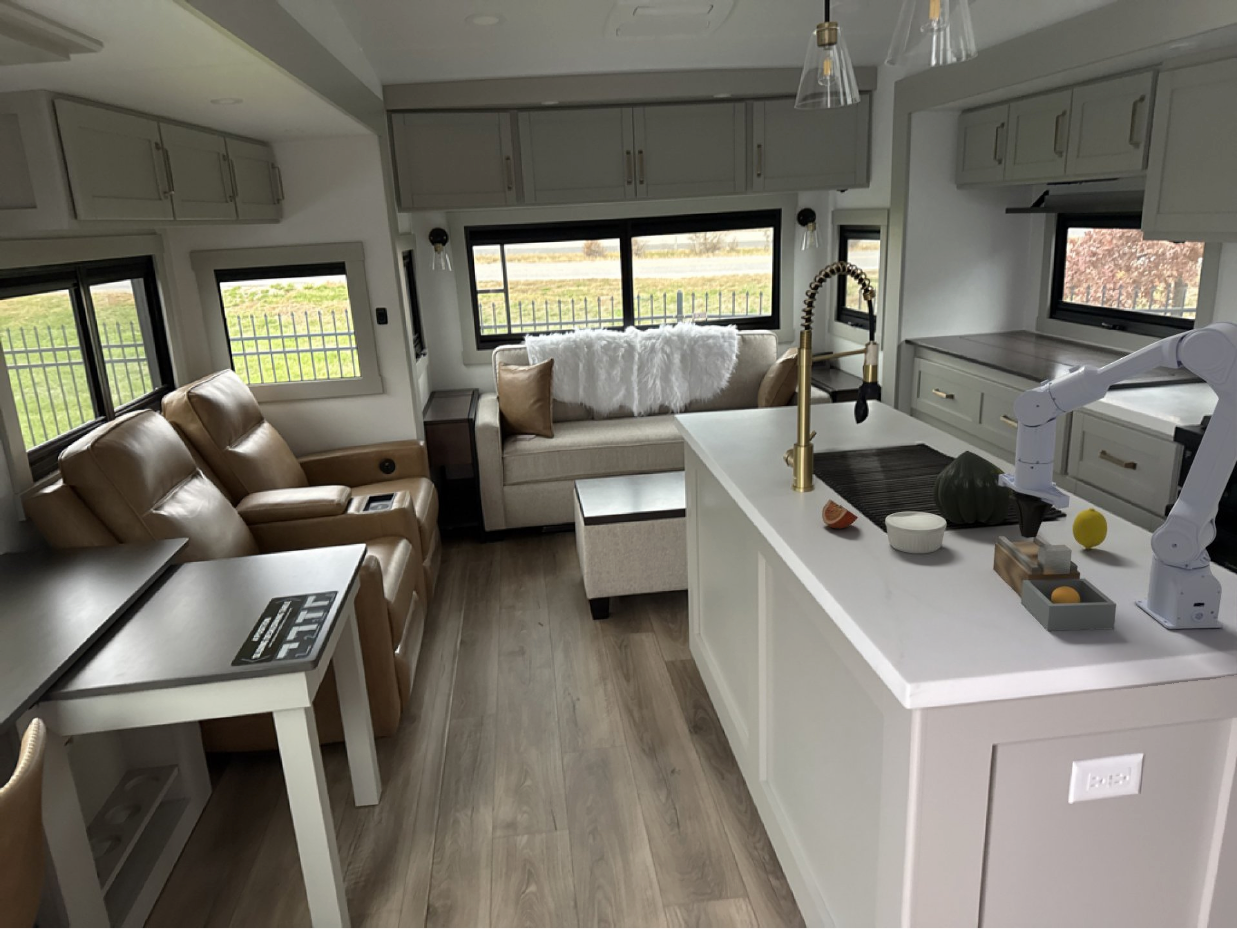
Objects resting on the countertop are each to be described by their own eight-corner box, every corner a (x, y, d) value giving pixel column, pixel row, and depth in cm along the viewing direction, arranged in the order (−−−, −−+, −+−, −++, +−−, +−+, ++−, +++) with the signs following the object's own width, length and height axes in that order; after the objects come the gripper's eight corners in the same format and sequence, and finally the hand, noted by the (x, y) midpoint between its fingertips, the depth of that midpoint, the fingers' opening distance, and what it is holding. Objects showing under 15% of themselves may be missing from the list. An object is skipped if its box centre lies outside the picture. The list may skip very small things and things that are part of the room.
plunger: (1069, 573, 131) (1071, 550, 130) (1043, 574, 131) (1045, 551, 130) (1062, 567, 133) (1064, 544, 132) (1036, 568, 133) (1038, 545, 132)
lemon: (1109, 555, 150) (1114, 513, 148) (1076, 554, 151) (1080, 513, 149) (1099, 544, 155) (1103, 503, 153) (1066, 543, 156) (1070, 503, 154)
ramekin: (918, 531, 167) (919, 507, 165) (958, 549, 157) (960, 523, 155) (872, 541, 163) (873, 516, 162) (911, 560, 153) (911, 533, 152)
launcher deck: (1077, 601, 133) (1080, 565, 131) (1026, 603, 133) (1028, 567, 132) (1039, 567, 146) (1042, 535, 144) (993, 569, 147) (995, 536, 145)
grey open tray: (1113, 628, 123) (1116, 604, 122) (1047, 630, 124) (1049, 606, 123) (1082, 601, 133) (1084, 578, 132) (1021, 603, 133) (1022, 580, 132)
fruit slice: (816, 522, 176) (816, 500, 174) (845, 518, 177) (845, 496, 176) (833, 535, 168) (833, 511, 166) (863, 531, 169) (864, 508, 168)
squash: (1007, 513, 158) (1013, 444, 164) (925, 508, 165) (933, 442, 171) (1011, 541, 169) (1016, 475, 175) (934, 535, 177) (941, 472, 182)
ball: (1084, 616, 126) (1086, 591, 126) (1057, 616, 127) (1058, 592, 126) (1071, 606, 130) (1073, 582, 130) (1045, 606, 131) (1047, 583, 130)
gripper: (1088, 467, 131) (1081, 547, 135) (1025, 447, 145) (1019, 520, 148) (1050, 472, 130) (1043, 553, 133) (989, 451, 143) (985, 525, 147)
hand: (1028, 536), depth 141 cm, fingers closed
